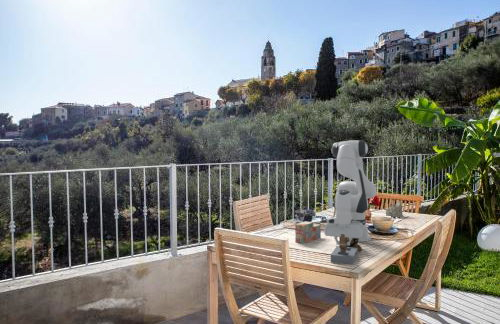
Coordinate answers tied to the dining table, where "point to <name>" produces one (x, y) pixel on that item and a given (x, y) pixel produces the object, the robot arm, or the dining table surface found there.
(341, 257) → the two-hole board
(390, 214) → the ceramic cottage
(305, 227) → the stack of blocks
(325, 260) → the dining table surface
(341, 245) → the walnut peg
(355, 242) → the beige rough lumpy piece
